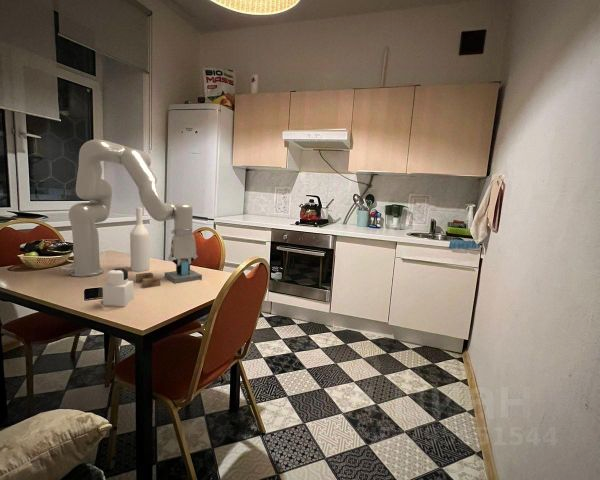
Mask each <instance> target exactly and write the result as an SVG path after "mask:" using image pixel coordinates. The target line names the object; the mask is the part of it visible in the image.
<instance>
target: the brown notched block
mask: <svg viewBox="0 0 600 480" xmlns="http://www.w3.org/2000/svg"><path fill="white" fill-rule="evenodd" d="M135 282H136V283H138V284H139V285H140V286H142V287H143V288H144V289H147V288H148V289H149V288H154V287H160V286H161V278H160V277H159V276H154V273H152V272H145V273H136V274H135Z"/></svg>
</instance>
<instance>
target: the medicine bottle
mask: <svg viewBox="0 0 600 480" xmlns="http://www.w3.org/2000/svg"><path fill="white" fill-rule="evenodd" d="M101 290H102V305H103V306H116V307H117V308H119V307H123V308H124V307H126V306H127V305H128V304H129V303H130V302H132V300H134V299H135V297H134V281H133V280H129V270H128V269H125V268H123V267H122V268H117V267H116V268H112V269H110V270H108V271H107V283H106V284H104V285H102V288H101Z"/></svg>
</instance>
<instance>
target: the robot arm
mask: <svg viewBox="0 0 600 480" xmlns="http://www.w3.org/2000/svg"><path fill="white" fill-rule="evenodd" d="M78 153H79V154H78V169H77V175H76V181H75V182H76V184H75V194H76V196H77V197H78V198H80V199H81V200H85V201H88V202H78V203H76V204H73V205H72V206H71V207H70V208H69V210H68V219H69V223H70V225H71V232H72V233H71V235H72V248H73V249H72V250H73V251H72V252H73V263H72V264H71V265H69V266H66V265H65V266H60V271H61V272H69V274H70V276H72V277H77V278H78V277H84V278H85V277H94V276H99V275H102V274H104V271H105V270H104V268H101V264H100V239H99V230H98V228H97V225H96V224H99V223H103V222H105V221H106V220H107V219H108V218H109V215H110V211H111V205H112V198H113V197H112V196H113V188H112V186H111V184H110V183H109V182H108V181H107V180H105V179H102V174H103V167H102V164H101V162H109V163H113V164H114V163H115V164H118V165H122V166H123V167H124V168H125V170H126V172H127V173H128V174H129V176H130V177H131V179H132V181H133V182H134V184H135V186H136V187H137V188H138V195H139V199H140V202H141V204H142V206H143V208H144V209H145V210H146V212H147V213H148V214H149V215H150V218H152V219H153V220H155V221H157V222H164V221H169V220H173V229H172V230H170V233H171V234H172V237H171V244H170V254H169V256H168V258H167V260H168V261H170V262H173V263H174V264H175V271H176V272H177V273H178V274H181V265H180V262H181V260H186V261H188V273H189V271H190V269H191V264H192V262H194V260H196V259H197V258H198V257H199V256H198V255H197V246H196V244H197V243H196V238H195V235H193V206H192V205H190V204H188V203H187V204H184V203H183V204H182V203H179V204H177V203H172V202H162V200H161V198H160V197H159V194H158V193H157V191H156V184H157V181H158V178H157V177H156V176H155V174H154V172H153V170H152V169H151V168H150V167H151V164H152V161H151V157H150V156H149V154H147V153H146V152H145V151H142V150H140V149H135V148H133V147H129V146H125V145H122V144H119V143H116V142H112V141H110V140H109V141H108V140H105V139H97V138H96V139H90V140H88V141H86V142H85V143H83V144H82V146H80V148H79V152H78Z"/></svg>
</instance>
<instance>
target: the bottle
mask: <svg viewBox="0 0 600 480" xmlns="http://www.w3.org/2000/svg"><path fill="white" fill-rule="evenodd" d="M135 215H136V216H135V225H134V226H133V229H132V230H131V232H130V234H129V240H130V244H129V246H130V270H131V271H133V272H145V271H146V272H147V271H148V270H150V233H149V231H148V230H147V228H146V227H145V226H144V221H143V219H144V218H143V207H135Z"/></svg>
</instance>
